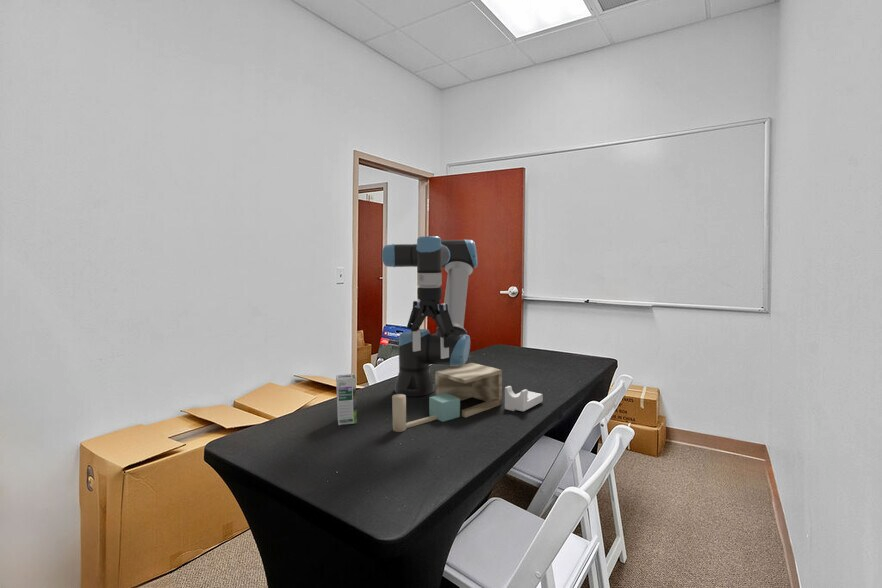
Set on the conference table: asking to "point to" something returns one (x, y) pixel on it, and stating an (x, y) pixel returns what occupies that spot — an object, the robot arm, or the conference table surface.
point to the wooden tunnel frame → (471, 385)
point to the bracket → (521, 399)
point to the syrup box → (346, 399)
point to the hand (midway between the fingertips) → (430, 354)
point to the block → (439, 409)
